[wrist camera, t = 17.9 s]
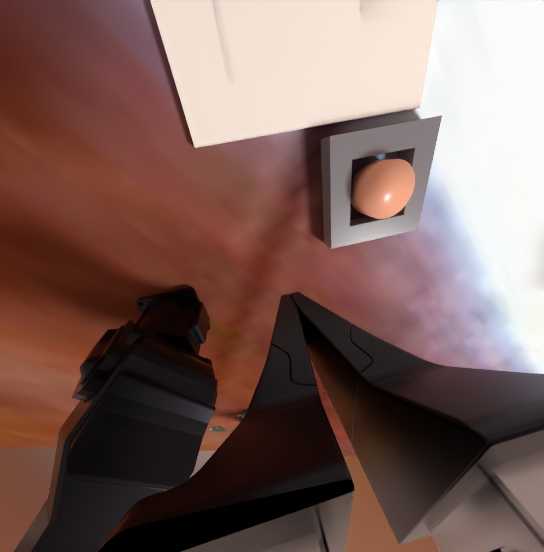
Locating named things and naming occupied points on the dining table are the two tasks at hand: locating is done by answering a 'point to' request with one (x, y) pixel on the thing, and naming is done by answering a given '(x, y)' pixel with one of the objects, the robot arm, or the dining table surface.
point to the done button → (382, 188)
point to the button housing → (345, 147)
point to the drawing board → (293, 62)
